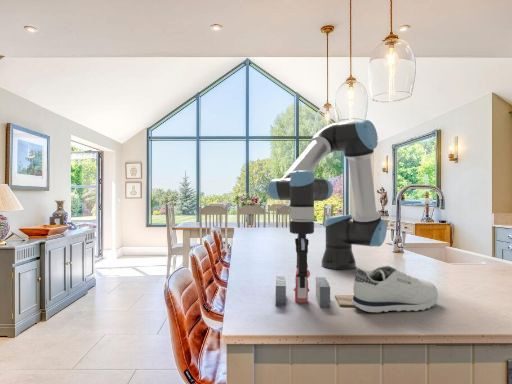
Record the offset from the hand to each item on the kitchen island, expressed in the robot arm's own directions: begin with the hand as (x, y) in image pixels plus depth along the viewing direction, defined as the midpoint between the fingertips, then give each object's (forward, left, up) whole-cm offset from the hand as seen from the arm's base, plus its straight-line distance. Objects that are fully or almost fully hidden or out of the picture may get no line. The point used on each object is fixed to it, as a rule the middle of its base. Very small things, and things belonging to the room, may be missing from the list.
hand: (301, 295), depth 114 cm
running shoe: (+4, +28, -2) cm, 28 cm away
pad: (0, +16, -2) cm, 16 cm away
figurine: (0, 0, -2) cm, 2 cm away
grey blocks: (0, 0, -2) cm, 2 cm away
